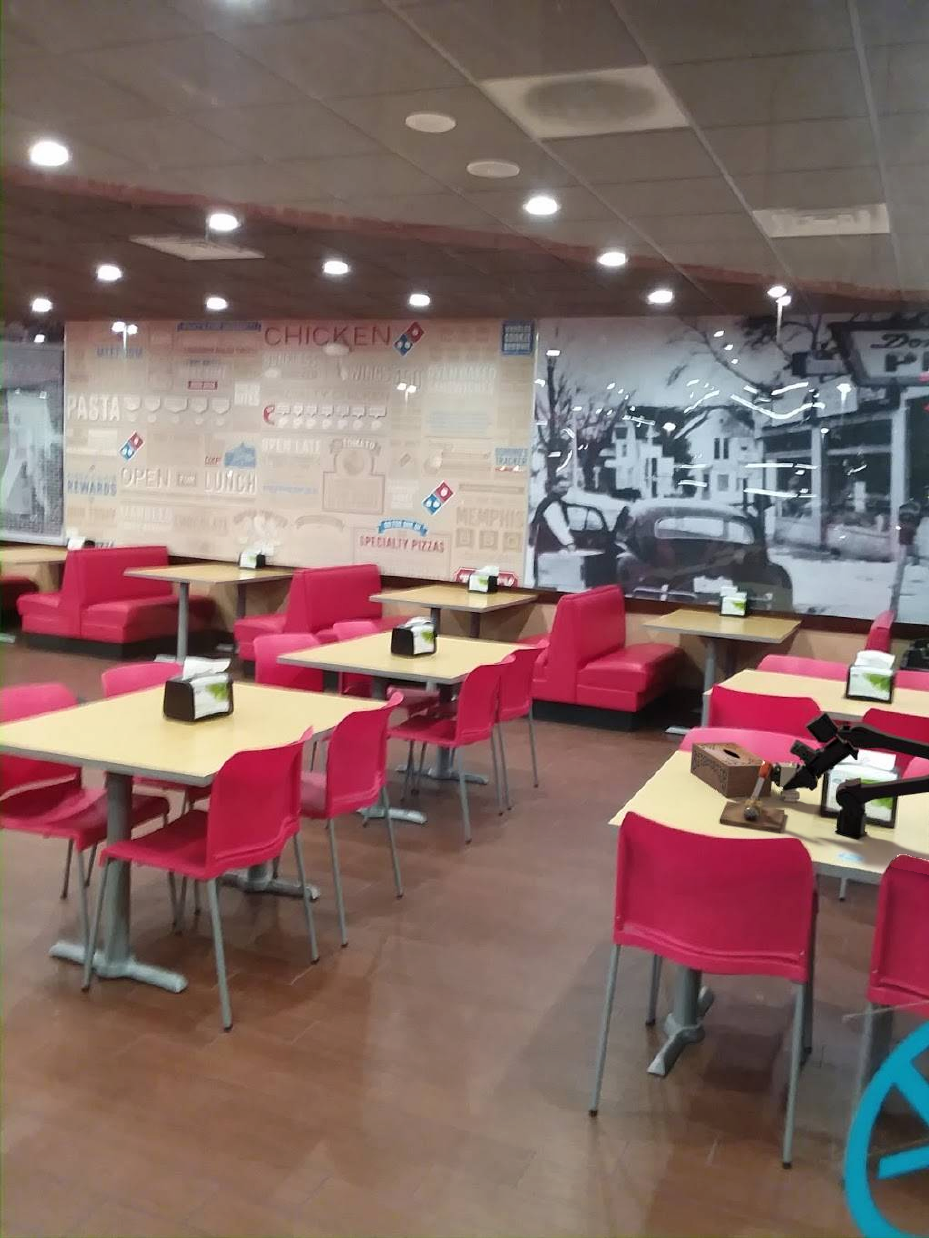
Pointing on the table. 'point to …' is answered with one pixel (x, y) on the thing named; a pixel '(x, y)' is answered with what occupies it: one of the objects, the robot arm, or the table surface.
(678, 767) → the table surface
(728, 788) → the tissue box cover
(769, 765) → the lever
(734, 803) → the mounting board
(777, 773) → the pneumatic valve
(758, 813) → the valve body
